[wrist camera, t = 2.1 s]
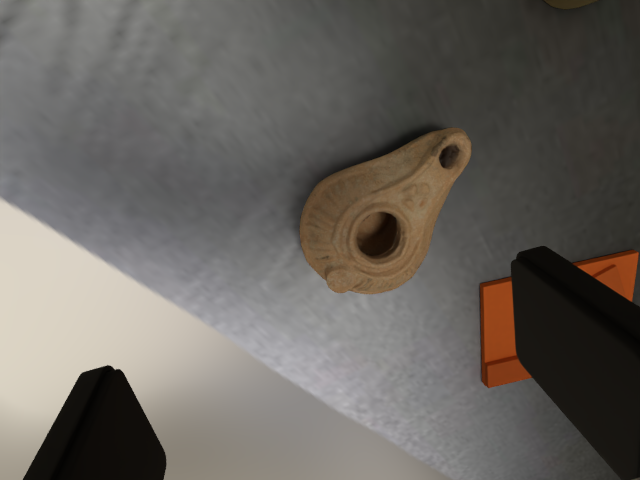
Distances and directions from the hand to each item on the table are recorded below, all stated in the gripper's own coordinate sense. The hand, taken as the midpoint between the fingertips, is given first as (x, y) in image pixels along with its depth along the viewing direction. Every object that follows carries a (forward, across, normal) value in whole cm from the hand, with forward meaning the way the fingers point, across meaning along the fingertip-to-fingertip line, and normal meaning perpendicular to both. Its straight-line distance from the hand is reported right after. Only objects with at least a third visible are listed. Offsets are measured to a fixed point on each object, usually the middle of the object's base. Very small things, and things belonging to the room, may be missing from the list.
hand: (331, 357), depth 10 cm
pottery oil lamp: (+21, -6, +4) cm, 22 cm away
